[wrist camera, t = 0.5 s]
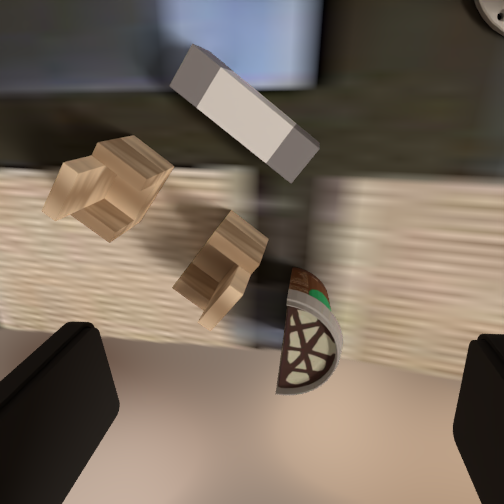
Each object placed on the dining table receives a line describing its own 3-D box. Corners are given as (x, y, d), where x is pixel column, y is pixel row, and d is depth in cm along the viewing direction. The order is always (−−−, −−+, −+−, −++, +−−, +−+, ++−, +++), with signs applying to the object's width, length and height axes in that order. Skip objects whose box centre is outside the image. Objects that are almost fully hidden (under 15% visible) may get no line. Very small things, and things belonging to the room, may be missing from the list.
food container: (330, 346, 45) (333, 408, 36) (283, 339, 46) (275, 398, 37) (346, 262, 40) (355, 309, 31) (293, 255, 41) (286, 299, 32)
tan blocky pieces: (133, 135, 38) (69, 147, 28) (268, 238, 41) (253, 284, 31) (102, 193, 42) (36, 223, 32) (228, 286, 44) (202, 340, 34)
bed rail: (209, 51, 34) (192, 43, 29) (319, 142, 35) (319, 148, 31) (188, 87, 35) (169, 85, 31) (294, 173, 37) (291, 183, 33)
